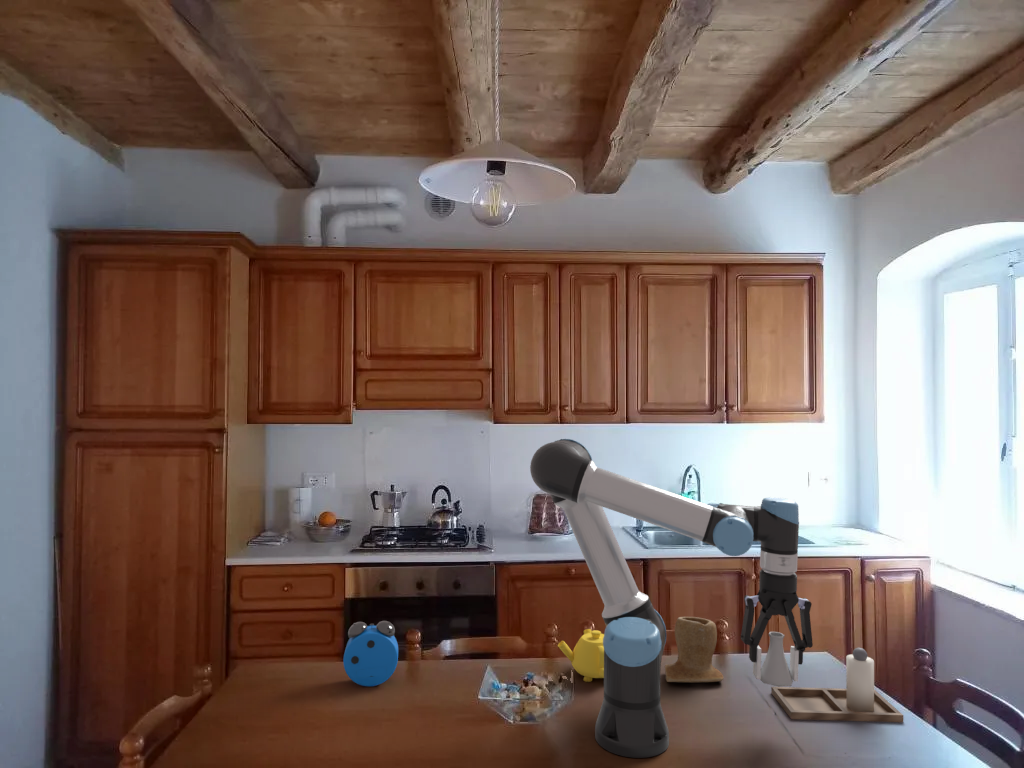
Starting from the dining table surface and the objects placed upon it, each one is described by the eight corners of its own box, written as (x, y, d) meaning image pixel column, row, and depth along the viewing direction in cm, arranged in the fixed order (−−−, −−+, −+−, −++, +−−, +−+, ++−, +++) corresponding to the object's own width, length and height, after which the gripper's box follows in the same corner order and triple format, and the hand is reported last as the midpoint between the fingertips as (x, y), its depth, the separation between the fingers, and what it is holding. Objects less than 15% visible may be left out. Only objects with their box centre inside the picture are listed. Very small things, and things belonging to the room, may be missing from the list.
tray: (791, 722, 149) (791, 712, 149) (771, 696, 162) (771, 686, 162) (903, 725, 148) (903, 715, 148) (874, 699, 161) (874, 689, 161)
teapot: (586, 659, 184) (586, 618, 184) (631, 672, 175) (631, 629, 175) (555, 676, 172) (556, 632, 173) (602, 691, 164) (602, 645, 164)
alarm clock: (398, 676, 172) (398, 616, 172) (397, 686, 166) (398, 624, 166) (345, 679, 170) (346, 618, 170) (342, 689, 164) (343, 627, 164)
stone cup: (712, 668, 178) (712, 611, 179) (728, 687, 166) (728, 626, 167) (655, 669, 177) (655, 611, 178) (667, 688, 166) (668, 627, 166)
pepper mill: (853, 713, 152) (853, 652, 152) (842, 701, 157) (842, 643, 158) (878, 713, 151) (878, 652, 152) (866, 702, 157) (866, 643, 157)
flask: (796, 690, 141) (797, 641, 142) (760, 685, 143) (761, 638, 143) (789, 675, 149) (790, 630, 149) (754, 672, 150) (756, 626, 150)
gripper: (736, 573, 143) (732, 682, 142) (833, 577, 142) (830, 687, 141) (726, 564, 150) (723, 668, 150) (818, 568, 149) (815, 672, 149)
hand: (775, 677), depth 146 cm, fingers closed on flask, 7 cm apart
